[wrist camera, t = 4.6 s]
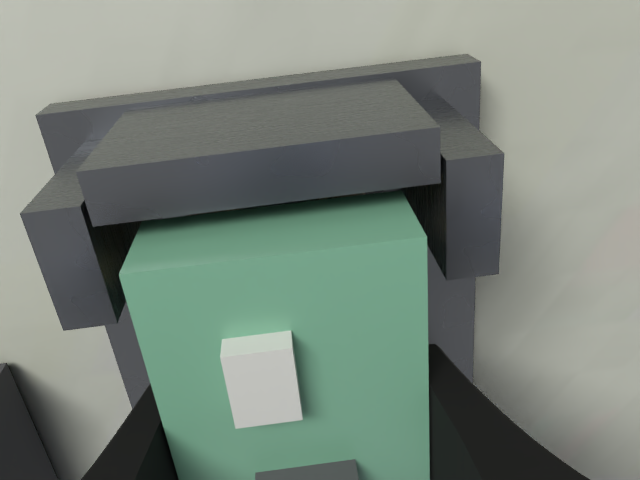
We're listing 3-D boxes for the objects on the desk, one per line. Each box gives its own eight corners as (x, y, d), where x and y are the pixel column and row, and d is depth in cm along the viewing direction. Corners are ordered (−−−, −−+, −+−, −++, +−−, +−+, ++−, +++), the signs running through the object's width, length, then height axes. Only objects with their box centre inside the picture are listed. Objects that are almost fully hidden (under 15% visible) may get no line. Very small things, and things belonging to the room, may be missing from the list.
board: (401, 190, 11) (436, 253, 9) (411, 505, 15) (437, 604, 13) (142, 221, 11) (109, 295, 9) (222, 531, 15) (214, 636, 13)
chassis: (467, 53, 14) (559, 106, 10) (461, 430, 20) (518, 572, 15) (50, 103, 14) (-52, 181, 9) (166, 471, 20) (137, 627, 15)
